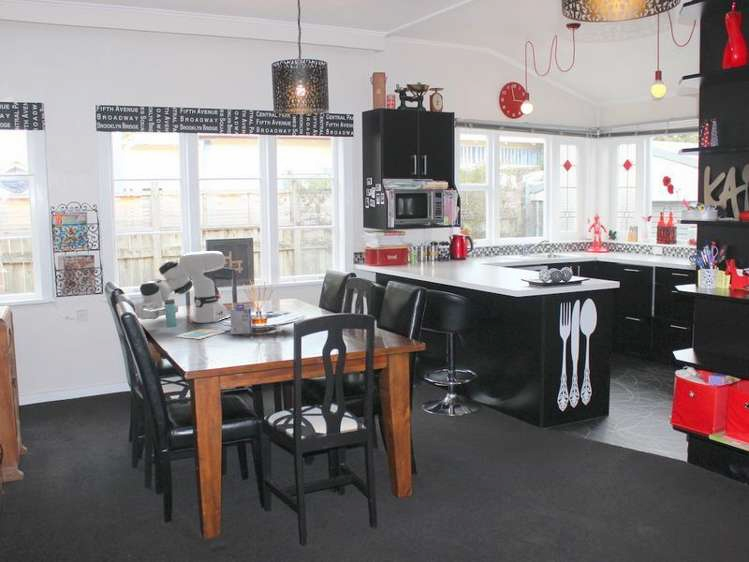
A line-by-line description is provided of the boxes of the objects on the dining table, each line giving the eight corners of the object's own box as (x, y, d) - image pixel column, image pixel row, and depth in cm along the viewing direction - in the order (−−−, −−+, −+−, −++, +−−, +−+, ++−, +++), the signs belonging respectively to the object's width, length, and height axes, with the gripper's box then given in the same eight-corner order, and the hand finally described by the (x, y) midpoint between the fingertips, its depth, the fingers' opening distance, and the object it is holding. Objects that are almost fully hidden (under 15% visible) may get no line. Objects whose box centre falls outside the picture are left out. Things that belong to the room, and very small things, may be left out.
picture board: (200, 330, 383) (200, 328, 383) (225, 332, 374) (225, 330, 374) (174, 337, 366) (174, 336, 366) (199, 339, 358) (199, 338, 358)
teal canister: (171, 325, 378) (169, 298, 377) (178, 325, 376) (176, 299, 374) (164, 327, 374) (162, 300, 372) (171, 327, 372) (169, 300, 370)
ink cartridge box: (252, 331, 374) (250, 303, 372) (250, 333, 368) (248, 305, 366) (233, 332, 374) (231, 304, 372) (231, 334, 368) (229, 306, 366)
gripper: (167, 313, 390) (186, 314, 383) (137, 320, 372) (157, 321, 365) (166, 301, 389) (185, 302, 382) (136, 307, 371) (156, 309, 364)
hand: (171, 312), depth 374 cm, fingers closed on teal canister, 5 cm apart
